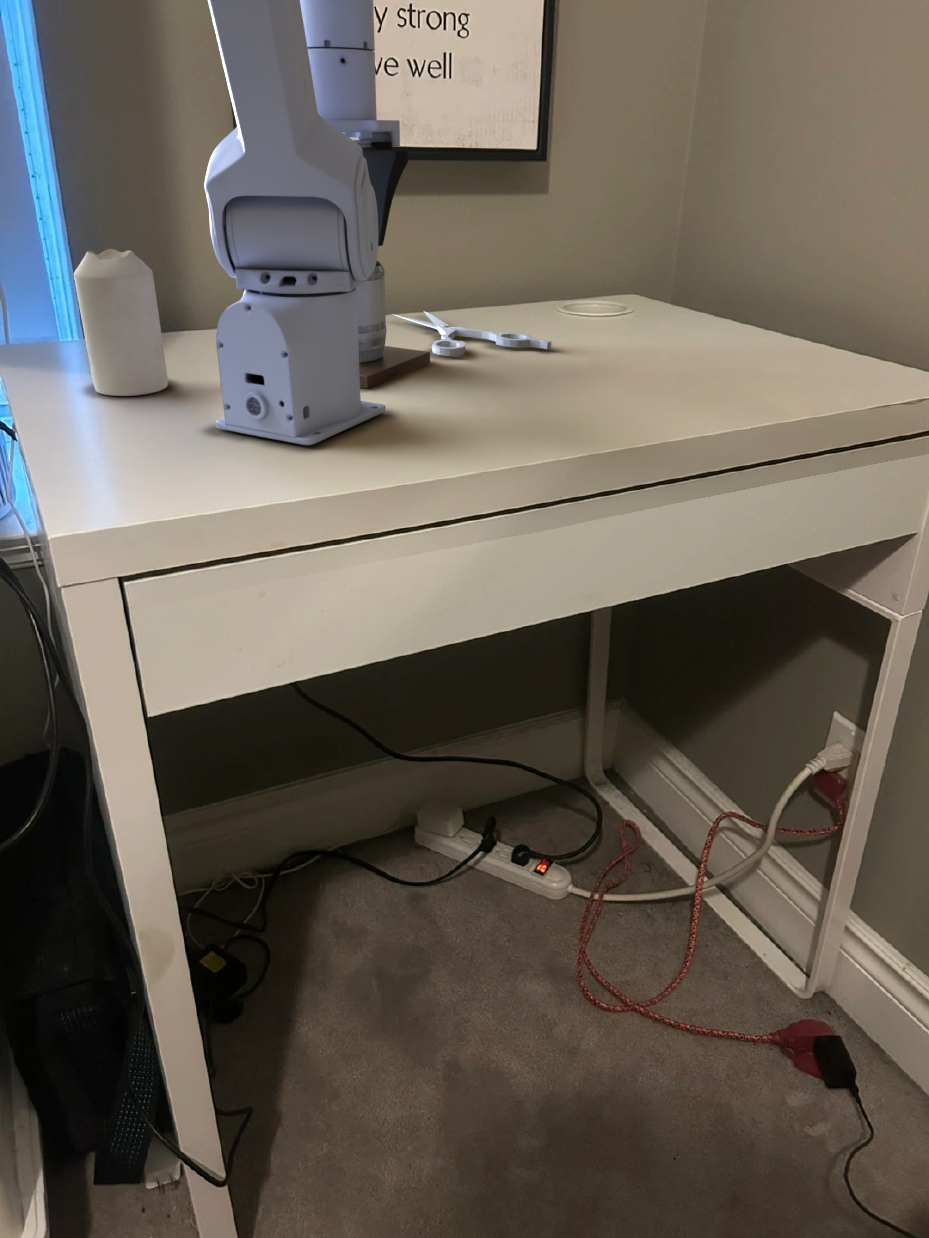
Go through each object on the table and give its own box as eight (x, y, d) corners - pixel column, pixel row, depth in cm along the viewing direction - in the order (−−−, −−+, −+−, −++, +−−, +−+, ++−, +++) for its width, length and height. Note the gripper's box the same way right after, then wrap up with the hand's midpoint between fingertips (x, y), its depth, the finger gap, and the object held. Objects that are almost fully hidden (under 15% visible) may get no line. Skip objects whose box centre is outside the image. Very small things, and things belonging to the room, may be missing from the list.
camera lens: (330, 345, 81) (324, 250, 77) (397, 351, 80) (395, 254, 76) (299, 361, 76) (292, 260, 72) (371, 367, 74) (367, 264, 71)
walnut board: (367, 388, 72) (367, 376, 72) (266, 373, 76) (265, 361, 76) (430, 363, 80) (430, 351, 80) (335, 350, 84) (334, 339, 84)
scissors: (450, 352, 80) (359, 312, 95) (450, 361, 80) (359, 320, 95) (552, 341, 84) (449, 305, 100) (551, 350, 85) (449, 312, 100)
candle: (91, 399, 69) (65, 256, 64) (97, 381, 73) (73, 246, 69) (168, 394, 70) (148, 254, 65) (168, 377, 75) (150, 245, 70)
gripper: (322, 43, 60) (334, 264, 66) (432, 56, 71) (432, 244, 78) (237, 45, 63) (256, 257, 69) (355, 57, 74) (362, 239, 81)
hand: (344, 250), depth 74 cm, fingers open, 7 cm apart
